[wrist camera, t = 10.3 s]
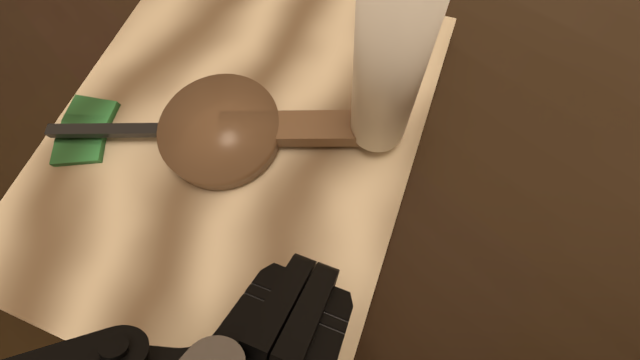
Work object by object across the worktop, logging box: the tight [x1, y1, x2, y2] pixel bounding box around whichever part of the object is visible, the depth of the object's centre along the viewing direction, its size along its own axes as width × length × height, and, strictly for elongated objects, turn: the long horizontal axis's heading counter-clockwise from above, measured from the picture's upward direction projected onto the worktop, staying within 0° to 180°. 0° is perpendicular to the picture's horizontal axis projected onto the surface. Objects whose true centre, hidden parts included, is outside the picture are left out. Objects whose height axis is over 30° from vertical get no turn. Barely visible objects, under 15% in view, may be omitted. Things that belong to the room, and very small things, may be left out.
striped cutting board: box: [0, 0, 456, 360], centre depth 22 cm, size 22×26×2 cm
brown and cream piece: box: [44, 0, 450, 190], centre depth 16 cm, size 21×7×11 cm, turn 88°
